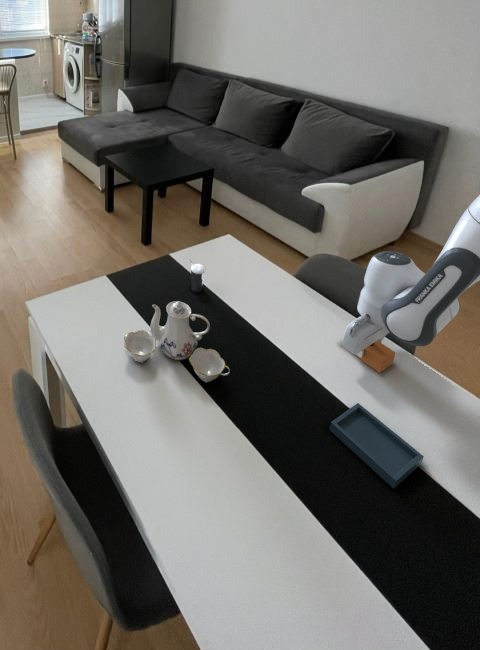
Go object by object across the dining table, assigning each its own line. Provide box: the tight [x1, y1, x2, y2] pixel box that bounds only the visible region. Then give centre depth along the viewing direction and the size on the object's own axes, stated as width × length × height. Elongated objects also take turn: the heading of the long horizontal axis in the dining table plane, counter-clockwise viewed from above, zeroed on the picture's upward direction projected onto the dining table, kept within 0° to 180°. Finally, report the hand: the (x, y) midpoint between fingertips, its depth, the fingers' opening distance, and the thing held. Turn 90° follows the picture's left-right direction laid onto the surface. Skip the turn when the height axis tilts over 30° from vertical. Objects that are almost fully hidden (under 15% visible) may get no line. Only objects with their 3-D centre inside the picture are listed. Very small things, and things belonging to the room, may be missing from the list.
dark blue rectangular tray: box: [328, 402, 425, 490], centre depth 91 cm, size 14×10×2 cm
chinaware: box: [123, 300, 231, 383], centre depth 113 cm, size 28×17×17 cm, turn 73°
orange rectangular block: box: [341, 341, 397, 374], centre depth 112 cm, size 10×6×5 cm, turn 27°
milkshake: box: [189, 259, 206, 293], centre depth 138 cm, size 4×5×10 cm
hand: (367, 349), depth 113 cm, fingers closed on orange rectangular block, 5 cm apart
